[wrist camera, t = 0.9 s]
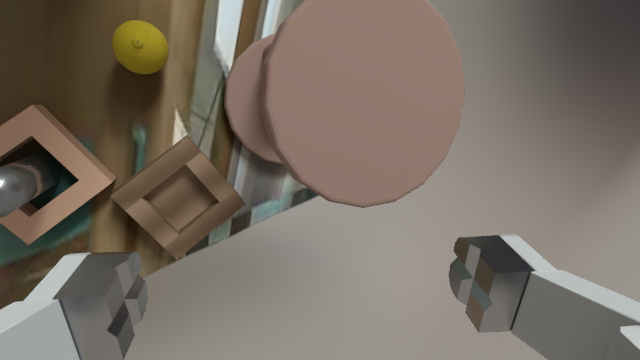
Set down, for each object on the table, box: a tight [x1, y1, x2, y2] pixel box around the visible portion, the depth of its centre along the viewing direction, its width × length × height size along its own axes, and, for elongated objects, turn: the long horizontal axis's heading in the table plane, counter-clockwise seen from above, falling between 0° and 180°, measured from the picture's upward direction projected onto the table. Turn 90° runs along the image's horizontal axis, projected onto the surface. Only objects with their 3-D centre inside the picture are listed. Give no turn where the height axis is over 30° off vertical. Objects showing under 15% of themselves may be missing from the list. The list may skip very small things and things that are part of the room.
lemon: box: [112, 20, 169, 74], centre depth 39 cm, size 6×6×8 cm
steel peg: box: [0, 155, 61, 218], centre depth 36 cm, size 4×4×12 cm
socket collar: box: [0, 105, 116, 245], centre depth 40 cm, size 11×11×3 cm
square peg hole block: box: [110, 135, 245, 260], centre depth 46 cm, size 11×11×4 cm
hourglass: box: [224, 0, 465, 208], centre depth 39 cm, size 18×18×25 cm
